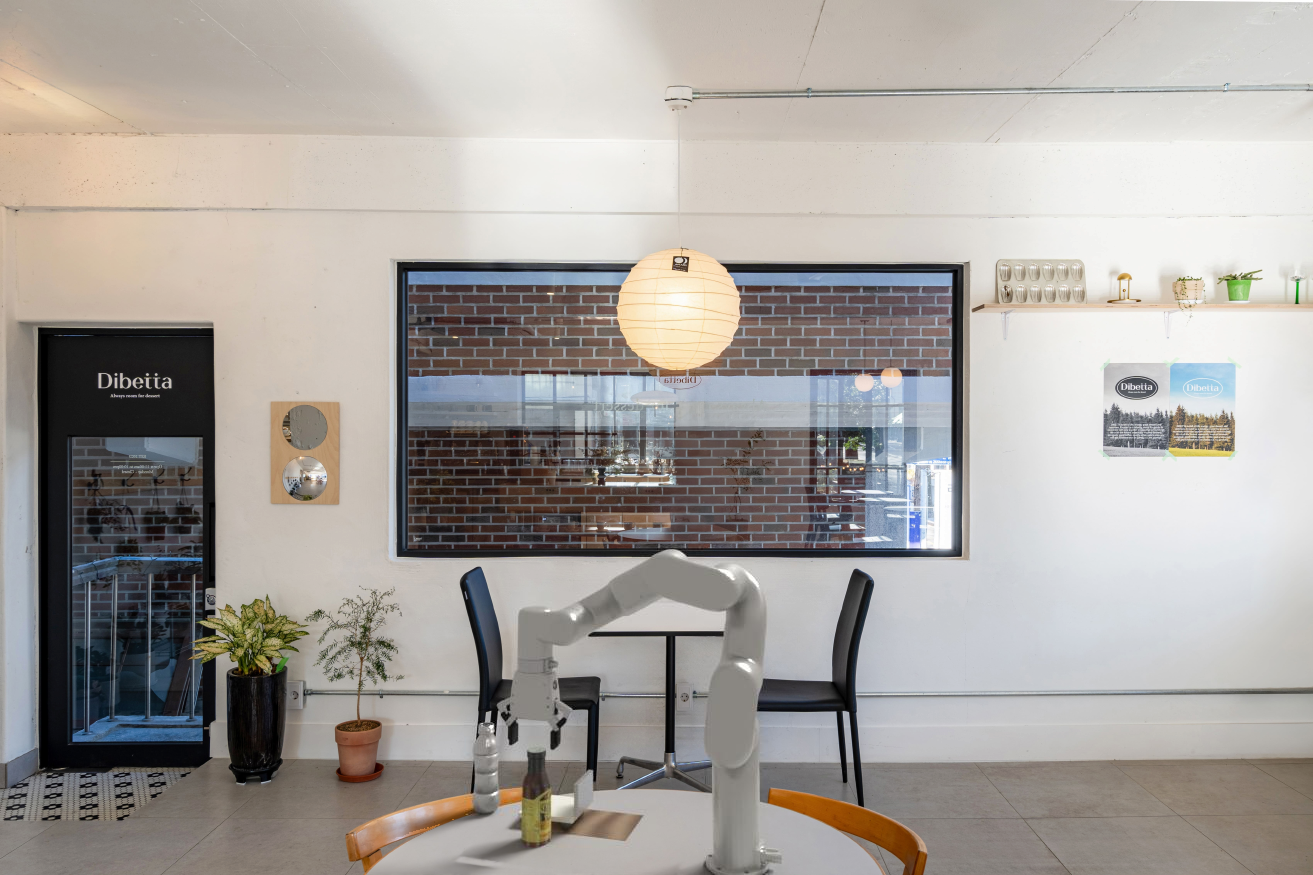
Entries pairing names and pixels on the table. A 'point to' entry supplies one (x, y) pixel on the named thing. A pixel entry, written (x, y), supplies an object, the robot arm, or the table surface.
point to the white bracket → (572, 802)
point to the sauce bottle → (536, 801)
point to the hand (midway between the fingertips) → (533, 745)
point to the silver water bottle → (486, 770)
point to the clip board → (599, 825)
